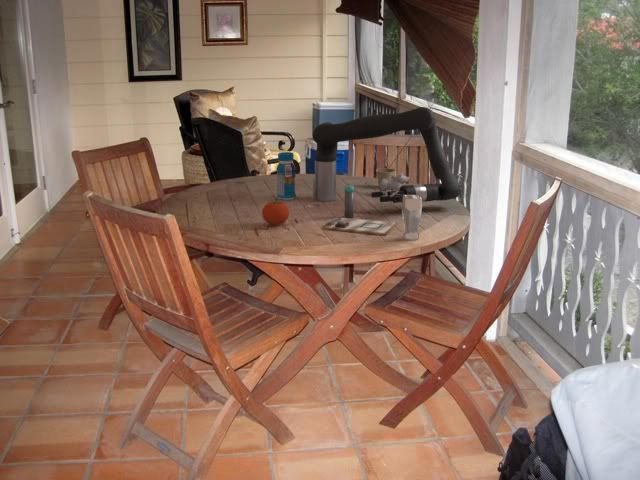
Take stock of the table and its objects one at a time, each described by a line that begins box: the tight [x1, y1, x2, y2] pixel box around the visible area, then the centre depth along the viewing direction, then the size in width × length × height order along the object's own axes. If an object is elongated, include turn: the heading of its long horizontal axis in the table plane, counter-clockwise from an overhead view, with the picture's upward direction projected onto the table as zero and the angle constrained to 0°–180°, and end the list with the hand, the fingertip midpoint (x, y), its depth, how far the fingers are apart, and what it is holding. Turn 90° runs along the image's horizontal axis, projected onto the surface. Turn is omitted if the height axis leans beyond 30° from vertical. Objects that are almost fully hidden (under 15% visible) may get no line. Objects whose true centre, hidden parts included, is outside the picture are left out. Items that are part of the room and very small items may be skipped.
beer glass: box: [401, 195, 423, 241], centre depth 236 cm, size 7×7×15 cm
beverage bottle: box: [275, 151, 297, 201], centre depth 297 cm, size 8×8×20 cm
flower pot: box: [375, 168, 397, 190], centre depth 318 cm, size 9×9×9 cm
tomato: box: [261, 199, 290, 226], centre depth 255 cm, size 10×10×10 cm
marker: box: [343, 185, 355, 219], centre depth 265 cm, size 4×4×12 cm
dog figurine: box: [380, 171, 410, 194], centre depth 302 cm, size 5×13×11 cm, turn 73°
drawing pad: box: [322, 216, 399, 237], centre depth 253 cm, size 24×17×3 cm
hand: (375, 197), depth 268 cm, fingers open, 8 cm apart
